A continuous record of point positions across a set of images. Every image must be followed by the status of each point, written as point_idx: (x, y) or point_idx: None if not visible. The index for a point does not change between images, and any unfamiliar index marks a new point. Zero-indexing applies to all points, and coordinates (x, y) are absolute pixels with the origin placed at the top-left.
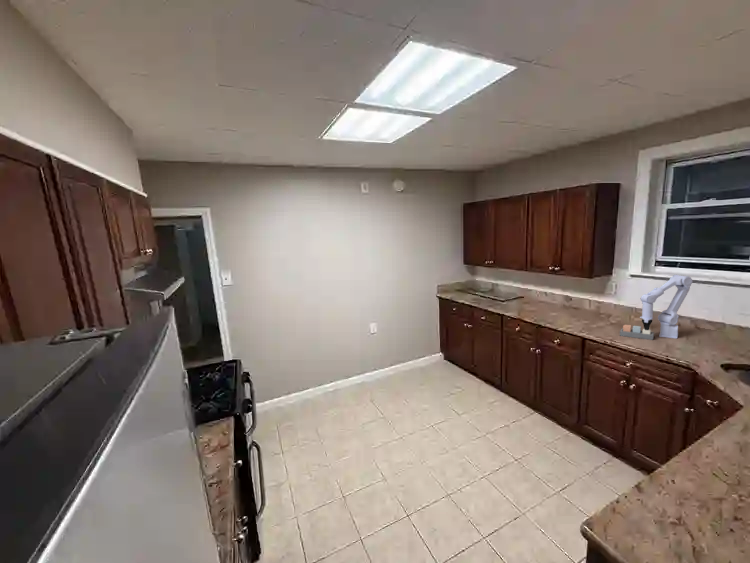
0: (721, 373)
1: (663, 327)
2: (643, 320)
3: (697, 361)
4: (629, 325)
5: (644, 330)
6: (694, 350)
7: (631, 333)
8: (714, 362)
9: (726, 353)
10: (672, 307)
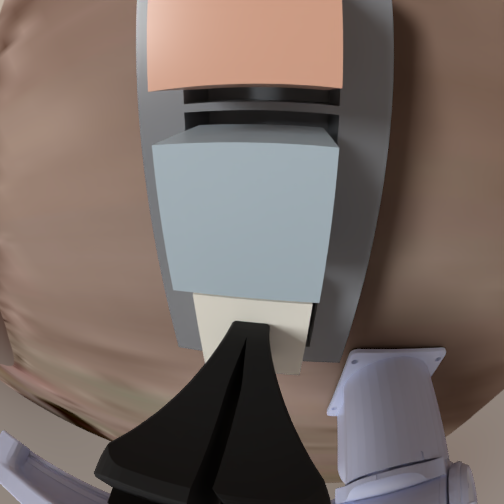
0: (22, 386)
1: (363, 447)
2: (132, 492)
3: (42, 380)
4: (311, 42)
5: (196, 315)
6: (146, 417)
7: (146, 117)
8: (72, 408)
9: None
10: None
